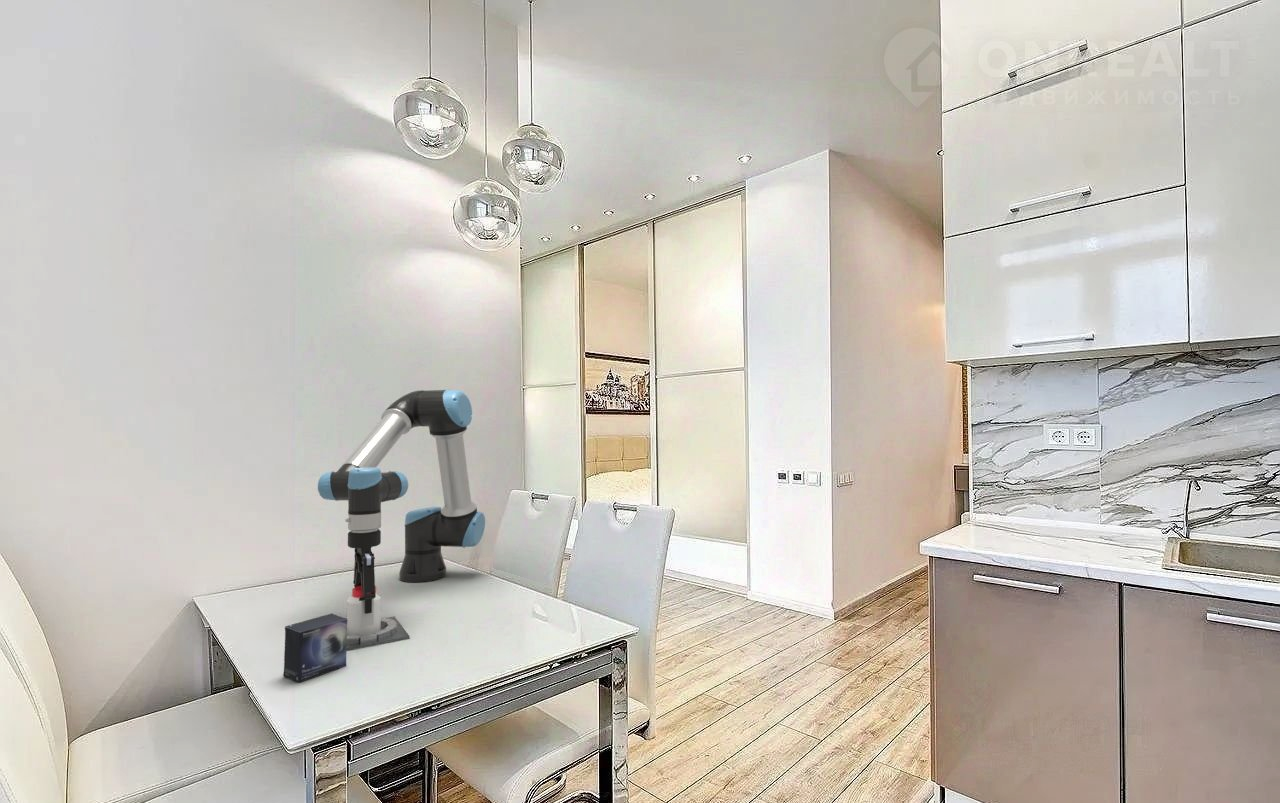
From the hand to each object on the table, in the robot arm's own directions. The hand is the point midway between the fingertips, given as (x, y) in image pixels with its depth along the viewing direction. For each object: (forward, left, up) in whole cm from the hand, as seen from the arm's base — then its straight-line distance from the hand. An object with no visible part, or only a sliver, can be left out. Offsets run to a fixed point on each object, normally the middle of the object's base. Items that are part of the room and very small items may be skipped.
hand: (363, 620), depth 151 cm
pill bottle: (0, 0, -3) cm, 3 cm away
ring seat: (0, 0, -4) cm, 4 cm away
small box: (+12, +18, -4) cm, 22 cm away
